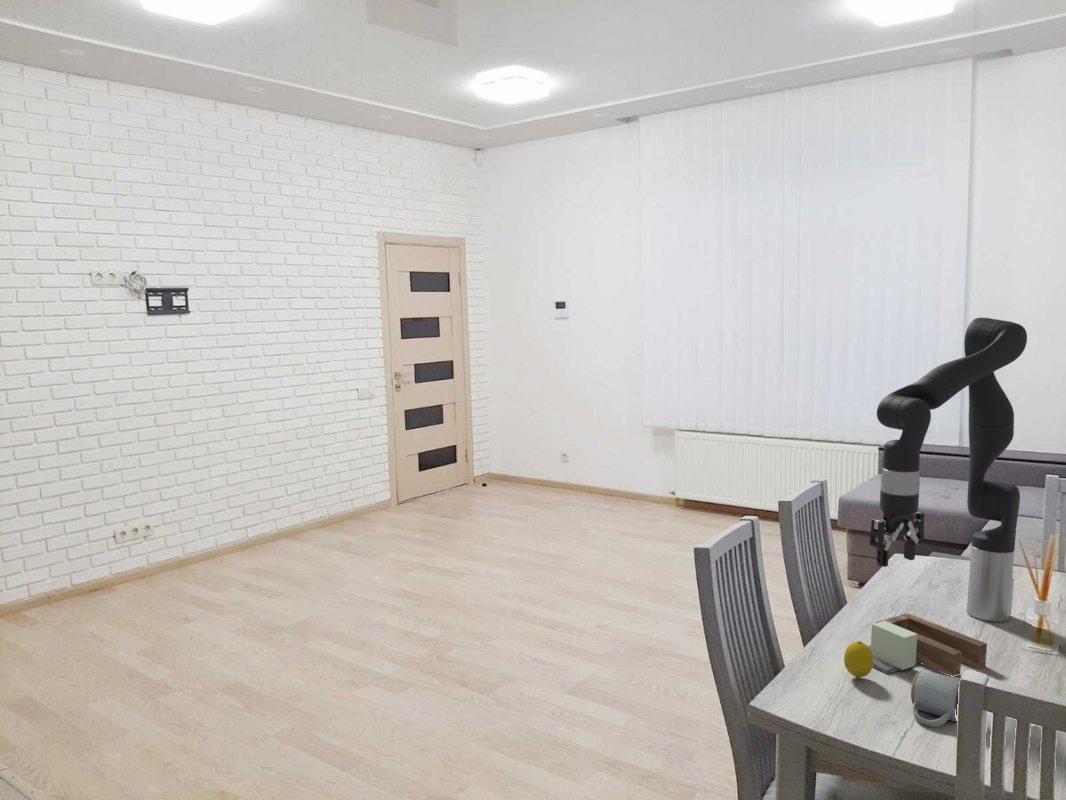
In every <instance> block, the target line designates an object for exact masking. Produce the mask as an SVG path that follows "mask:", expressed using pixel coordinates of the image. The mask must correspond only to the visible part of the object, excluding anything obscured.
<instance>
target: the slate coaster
mask: <svg viewBox="0 0 1066 800" xmlns="http://www.w3.org/2000/svg"><path fill="white" fill-rule="evenodd" d="M867 646H868V647H869V648H870V650H871V644H870V645H867ZM918 662H919V660H917V659H916V665H918V664H919V663H918ZM917 663H918V664H917ZM872 668H874V669H876V670H877V671H880V670H881V671H880V672H882V671H883V672H882V673H884V672H885V673H884V674H886V673H888V674H890V673H889V672H891V673H893V672H892V671H894V672H896V671H895V670H897V671H899V670H898V669H900V668H897V667H895V666H893V665H891V664H889V663H886V662H884V661H882V660H880V659H878V658H875V657H873V667H872ZM900 670H901V669H900Z"/></svg>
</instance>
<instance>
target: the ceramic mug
mask: <svg viewBox="0 0 1066 800" xmlns="http://www.w3.org/2000/svg"><path fill="white" fill-rule="evenodd" d="M960 679H961V678H960V677H956V676H955V677H950V676H948V675H946V674H942V673H941V674H940V673H937V672H931V671H923V670H921V671H918V672H916V674H915V675H914V677H913V679H912V683H911V687H910V700H911V703H912V704H913V705H912V714H913V717H914V718H915V720H916V721H917V722H919V724H921V725H923V724H924V725H923V726H925V725H926V727H928V726H931V727H930V728H936V727H940V726H943V725H944V724H946V723H947V721H948V720H949V721H951V720H953V721H952V722H954V721H956V718H955V709H956V715H957V704H958V687H959V681H960ZM918 709H919V710H920V711H922V712H926V713H929V714H931V715H935V716H938V717H939V718H936V719H931V720H930V719H925V718H923V717H922V716H920V715H919V714H918V713H917V710H918ZM932 726H933V727H932Z"/></svg>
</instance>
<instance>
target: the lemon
mask: <svg viewBox="0 0 1066 800" xmlns="http://www.w3.org/2000/svg"><path fill="white" fill-rule="evenodd" d="M868 646H869V645H867V644H866V643H864V642H862V640H856V641H854V642H851V643H850V644H849V645H847V647H846V648H845V651H844V656H843V662H844V666H845V669H846V670H847V672H848V673H849V674H851V676H854V677H855V678H856V679H861V678H863V677H865V676H868V675H869V674H870V673H871V671H872V669H873V668H874V667H873V655H872V652H871V650H870V648H869V647H868Z"/></svg>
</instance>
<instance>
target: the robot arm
mask: <svg viewBox="0 0 1066 800" xmlns="http://www.w3.org/2000/svg"><path fill="white" fill-rule="evenodd" d="M963 341H964V345H963V346H964V347H963V348H964V357H960V358H957V359H954V360H951V361H947V362H944V363H943V364H940V365H938V366H936V367H934V368H933V369H931V370H930V371H928V372H927V373H926V374H924V375H923V376H922V377H921V378H919V379H918V380H917V381H915V382H913V383H910V384H907V385H906V386H903V387H901V388H899V389H897V390H895V391H893V392H890V393H889V394H887V395H886V396H884V398H882V399H881V401H880V402H879V404H878V405H877V410H876V419H877V421H878V422H879V423H880V424H881V425H883V426H884V427H886V428H889V429H894V430H899V431H901V435H900V437H899V439H892V440H889V441H886V443H885V444H884V447H883V454H882V455H883V456H882V458H883V459H882V469H881V470H882V472H881V476H880V490H879V491H880V492H879V494H880V495H879V509H880V510H881V512H882V513H883V515H882V519H877V518H872V519H871V524H870V534H869V535H870V536H869V546H870V547H873V548H876V564H877V566H880V567H882V568H887V567H888V566H889V553H890V551H889V549H890V547H891V545H892V544H893V543H894V542H895V541H896V540H897V538H899V537H901V536H903V538H904V540H905V541H904V546H903V558H904V559H906V560H909V561H915V559H916V558H915V557H916V549H917V544H918V543H919V540H923V539H924V538H925V513H924V512H920V511H919V501H920V500H919V499H920V481H921V479H920V460H921V459H920V456H921V455H920V454H921V453H920V452H921V449H922V447H923V445H924V444H923V443H924V440H925V437H926V435H927V433H928V429H929V427H930V424H931V419H932V412H931V411H933V410H935V409H939V408H940V407H941V406H943V405H944V404H945V403H946V402H948V401H949V400H951V398H953V397H954V396H956V395H957V394H958V393H959V392H961V391H962V390H964V389H965V388H966V387H968V441H969V442H968V443H969V446H968V448H969V469H968V481H967V482H968V484H967V500H966V502H967V511H968V513H969V515H970V516H971V517H974V518H977V519H981V520H989V521H997V522H1000V524H999V526H997V527H994V528H992V529H991V528H990V529H985V530H984V529H983V530H979V531H976V532H974V533H973V534H972V536H971V542H970V543H971V544H970V546H971V547H970V559H969V560H970V561H969V574H968V587H967V599H966V601H967V602H966V613H967V614H968V615H969V616H971V617H973V618H975V619H979V620H983V621H989V622H996V623H998V622H1000V623H1002V622H1007V621H1009V620H1010V615H1011V616H1012V607H1013V595H1014V577H1013V575H1014V574H1013V573H1014V563H1015V562H1014V561H1015V550H1016V533H1017V525H1018V524H1017V523H1018V519H1019V518H1018V516H1019V511H1020V510H1019V509H1020V503H1021V502H1020V501H1021V494H1020V489H1019V487H1018V486H1017V485H1015V484H1010V483H1002V482H995V481H987V480H985V476H986V474H987V472H988V470H989V469H990V467H991V466H992V465H993V463H994V462H995V461H996V460H997V459H998V458H999V457H1000V455H1002V454H1003V453H1004V452H1005V450H1006V449H1008V447H1009V445H1011V442H1012V441H1013V439H1014V437H1015V436H1014V435H1015V434H1014V433H1015V412H1014V408H1013V405H1012V404H1011V401H1010V400H1009V398H1008V396H1007V395H1006V393H1005V391H1004V390H1003V389H1004V388H1002V386H1001V385H1000V383H999V381H998V379H997V378H996V377H997V376H996V375H995V372H996V371H998V370H1000V369H1002V368H1003V367H1006V366H1008V365H1009V364H1011V363H1013V362H1015V361H1017V359H1019V357H1020V356H1021V355H1022V354H1023V353H1024V351H1025V349H1026V346H1027V343H1028V342H1027V341H1028V334H1027V330H1026V328H1025V327H1024V326H1023V325H1021V324H1019V323H1016V322H1014V321H1009V320H1003V319H996V318H990V317H976V318H974V319H973V320H971V321H970V323H969V324H968V326H967V328H966V331H965V333H964V340H963ZM917 530H918V531H917ZM886 533H887V534H886ZM876 538H877V539H876ZM885 540H886V541H885ZM884 541H885V543H884Z"/></svg>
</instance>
